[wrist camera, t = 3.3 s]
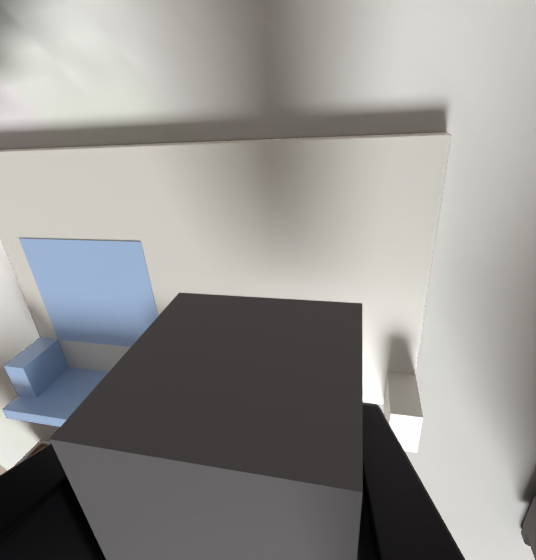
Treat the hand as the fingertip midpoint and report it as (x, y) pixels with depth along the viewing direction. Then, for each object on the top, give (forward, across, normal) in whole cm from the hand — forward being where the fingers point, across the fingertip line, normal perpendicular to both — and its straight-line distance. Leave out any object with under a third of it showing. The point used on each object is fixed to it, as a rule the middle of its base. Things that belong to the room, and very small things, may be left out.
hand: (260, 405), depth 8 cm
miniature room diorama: (+9, +5, +2) cm, 11 cm away
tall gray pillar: (+1, 0, +2) cm, 3 cm away
